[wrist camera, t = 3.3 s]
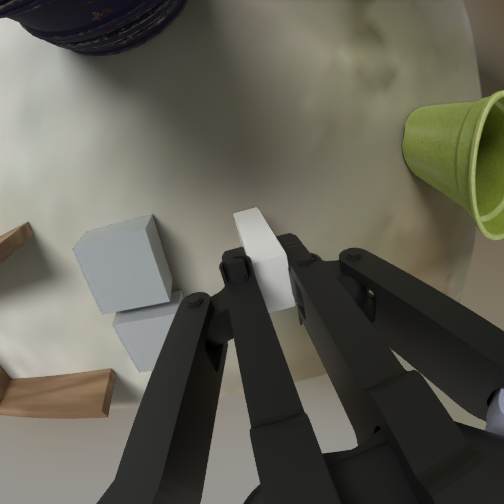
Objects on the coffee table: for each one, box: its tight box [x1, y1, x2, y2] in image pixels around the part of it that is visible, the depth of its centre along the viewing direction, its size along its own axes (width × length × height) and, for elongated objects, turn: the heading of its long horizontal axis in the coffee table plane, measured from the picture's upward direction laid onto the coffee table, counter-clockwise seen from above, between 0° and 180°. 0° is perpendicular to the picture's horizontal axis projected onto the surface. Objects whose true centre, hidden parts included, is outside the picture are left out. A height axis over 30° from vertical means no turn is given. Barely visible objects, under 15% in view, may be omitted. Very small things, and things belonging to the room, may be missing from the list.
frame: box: [0, 222, 116, 418], centre depth 17 cm, size 16×17×5 cm
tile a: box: [72, 214, 173, 314], centre depth 18 cm, size 5×5×3 cm
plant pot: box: [402, 91, 504, 240], centre depth 15 cm, size 9×9×9 cm
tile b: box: [112, 290, 184, 372], centre depth 20 cm, size 5×5×3 cm
